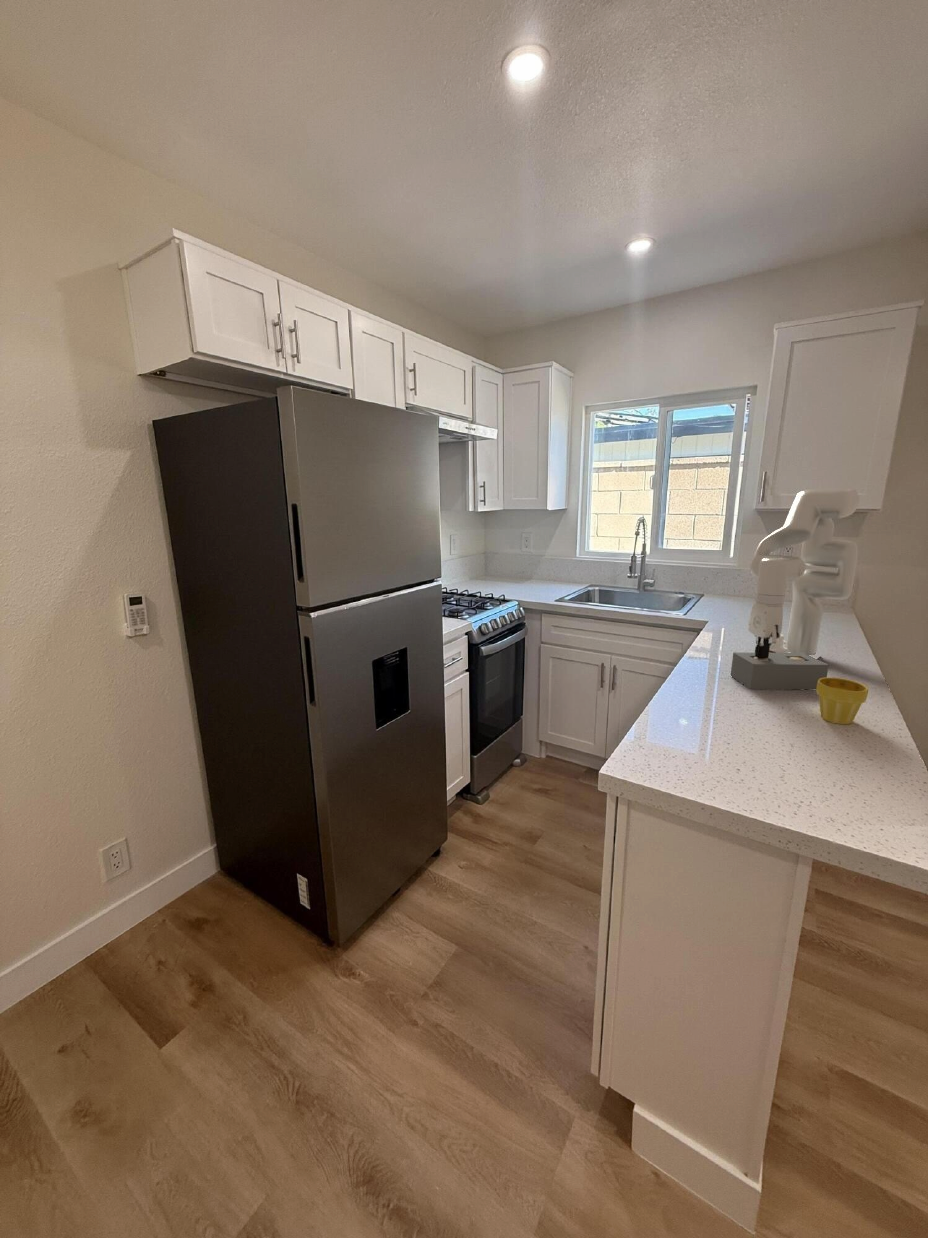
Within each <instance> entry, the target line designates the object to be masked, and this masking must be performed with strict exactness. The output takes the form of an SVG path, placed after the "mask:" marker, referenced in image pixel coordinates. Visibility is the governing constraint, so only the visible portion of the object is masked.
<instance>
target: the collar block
mask: <svg viewBox="0 0 928 1238" xmlns="http://www.w3.org/2000/svg"><path fill="white" fill-rule="evenodd" d="M754 657H755V652H735V651H734V652H733V654H732V660H731V661H732V662H731V667H730V668H731V670H730V675H731V676H732V677H731V676H730V677H731V678H732V679H734V678H735V679H736V681H737V680H738V681H739V682H738V681H737V682H738V683H740V684H741V683H742V684H741V685H743V684H744V685H745V686H744V685H743V686H744V687H746V686H747V687H748V688H747V687H746V688H747V689H748V690H755V689H817V682H818V680H819V679H820V678H825V677H828V671H829V666H830V664H828V663H826V662H823V661H821V660H820V659H815V658H813V657H811V656H809V655H806V654H804V653H769V656H768V658H767V659H768V661H757V660H756V659H754ZM790 657H797V658H802V659H804V660H805V661H794V660H792V659H790ZM735 679H734V680H735Z"/></svg>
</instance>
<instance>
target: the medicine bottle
mask: <svg viewBox="0 0 928 1238" xmlns="http://www.w3.org/2000/svg"><path fill="white" fill-rule="evenodd" d="M784 640H785V635H784V634H782V633H781V635H780V637H779V638H776V643H772V644H771V646H770V649H769V653H788V650H789V649H788V648H785V646H784V643H783V641H784ZM755 652H756V646H755V648H754V653H755Z"/></svg>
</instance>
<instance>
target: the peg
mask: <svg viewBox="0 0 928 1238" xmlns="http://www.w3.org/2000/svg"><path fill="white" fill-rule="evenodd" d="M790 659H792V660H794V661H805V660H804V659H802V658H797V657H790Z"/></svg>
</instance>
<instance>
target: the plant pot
mask: <svg viewBox="0 0 928 1238" xmlns="http://www.w3.org/2000/svg"><path fill="white" fill-rule="evenodd" d="M815 691H816V693H817V695H818V699H819V700H818V701H819V709H820V717H821V718H822V719H823V720H824V721H828V722H830V723H832V724H837V725H850V724H852V723H853V722H854V721H855V718H856V716H857V714H858V712H859V710H860V708H861V706H862V704H864V703H866V701H867V698H868V694H869V687H868V686H867V685H865V684H863V683H861V682H858V681H855V680H852V679H847V678H842V677H834V676H833V677H832V676H831V677H829V676H827V677H825V678H820V679H819V680H818V682H817V689H816V690H815Z"/></svg>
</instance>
